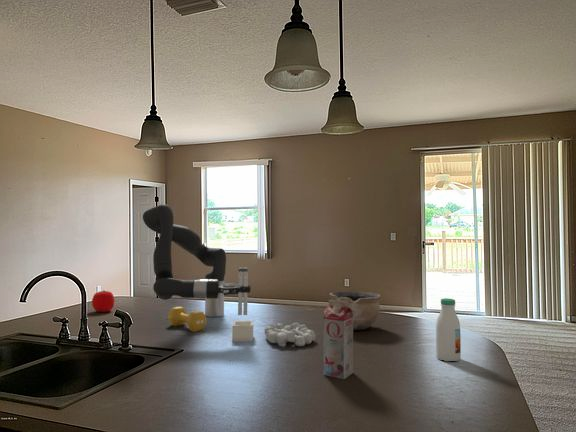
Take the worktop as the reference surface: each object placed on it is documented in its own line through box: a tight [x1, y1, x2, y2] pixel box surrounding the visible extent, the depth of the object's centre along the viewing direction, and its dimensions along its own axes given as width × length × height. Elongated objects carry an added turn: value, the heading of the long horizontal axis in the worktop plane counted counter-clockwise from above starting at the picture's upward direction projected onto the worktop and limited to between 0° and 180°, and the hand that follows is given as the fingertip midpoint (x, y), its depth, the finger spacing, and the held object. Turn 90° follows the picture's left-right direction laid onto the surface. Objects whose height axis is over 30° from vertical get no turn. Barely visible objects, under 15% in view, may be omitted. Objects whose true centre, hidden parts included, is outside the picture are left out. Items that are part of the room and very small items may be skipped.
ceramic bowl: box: [329, 290, 381, 331], centre depth 187 cm, size 22×22×15 cm
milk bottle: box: [435, 297, 462, 362], centre depth 145 cm, size 8×8×20 cm
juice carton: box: [323, 299, 354, 380], centre depth 130 cm, size 7×7×22 cm
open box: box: [231, 320, 254, 342], centre depth 170 cm, size 8×8×6 cm
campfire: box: [264, 322, 316, 347], centre depth 167 cm, size 22×21×6 cm
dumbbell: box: [167, 306, 208, 333], centre depth 187 cm, size 19×9×8 cm, turn 47°
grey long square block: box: [237, 267, 249, 316], centre depth 170 cm, size 4×4×18 cm
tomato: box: [91, 290, 115, 313], centre depth 222 cm, size 10×11×11 cm
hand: (250, 288), depth 170 cm, fingers closed on grey long square block, 3 cm apart
